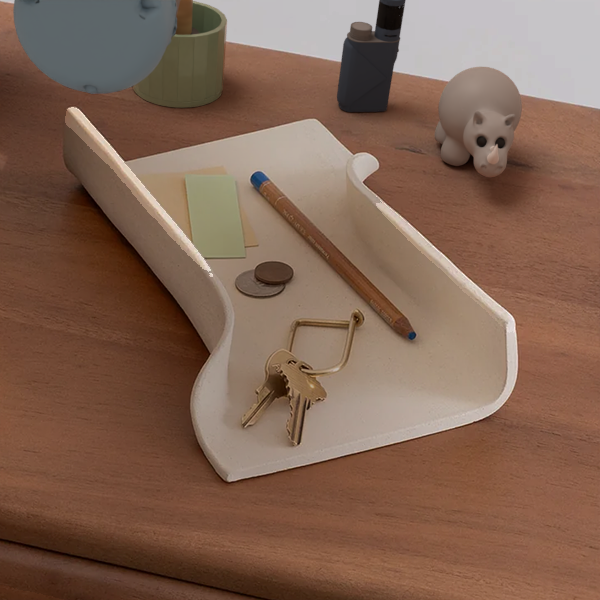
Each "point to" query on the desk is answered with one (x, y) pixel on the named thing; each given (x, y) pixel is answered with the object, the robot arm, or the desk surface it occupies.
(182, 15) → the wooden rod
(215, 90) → the cup
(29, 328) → the desk surface
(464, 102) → the chubby cartoon animal
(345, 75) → the vaping device
